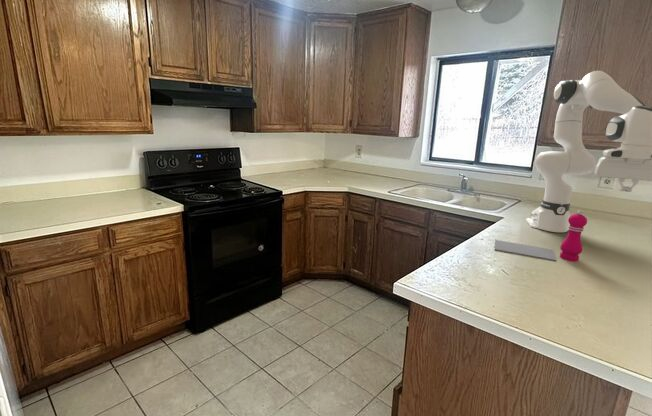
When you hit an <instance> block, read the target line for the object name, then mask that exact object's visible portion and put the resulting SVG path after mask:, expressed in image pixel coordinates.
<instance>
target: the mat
mask: <svg viewBox="0 0 652 416" xmlns="http://www.w3.org/2000/svg"><path fill="white" fill-rule="evenodd" d="M494 251H496V252H502V253H507V254H513V255H520V256H524V257H529V258H536V259H541V260H545V261H552V262H557V257H556V254H555V252H554V249H553V248H545V247H541V246H540V247H539V246H533V245H529V244H521V243H517V242H516V243H515V242H511V241H505V240H504V241H503V240H498V239H495V243H494Z"/></svg>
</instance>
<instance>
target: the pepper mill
mask: <svg viewBox="0 0 652 416" xmlns="http://www.w3.org/2000/svg"><path fill="white" fill-rule="evenodd" d="M568 222H569V227H568V229H569V230H568V234H567V236H566V237H565V239H564V240H562V242H561V244H560V247H559V248H560V251H561V252H560V254H559V258H561V259H562V260H564V261H569V262H573V263H575V262H578V261H579V260H580V254H582V253H583V245H582V240H581V235H582V232H584V227H586V225H587V223H588V219H587V217H586V216H585V215H583V212H582V210H577V211H576V213H574V214H570V217H569V219H568Z"/></svg>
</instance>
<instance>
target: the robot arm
mask: <svg viewBox="0 0 652 416" xmlns="http://www.w3.org/2000/svg"><path fill="white" fill-rule="evenodd" d="M552 95H553V96H552V97H553V100H554V102H555V103H557V104H559V106H558V109H557V112H556V117H555V122H554V133H553V140H554V141H555V142H556V143H557V144H559V145H561V146H562V148H563V150H564V151H559V150H558V151H557V150H550V151H541V152H539V153H538V154H537V156H536V157H535V160H534V167H535V169H536V171H537V172H539V173H540V174H541V176H542V177H543V179H544V183H545V187H544V188H545V189H544V196H543V198H542V199H541V201H540V206H538V207H537V208H536V209H534V210H533V211H532V212H530V214H529V216H530V217H526V218H525V222H527V224H528V225H529V226H530V227H531V228H534V229H540V230H543V231H546V232H553V233H566V232H569V229H568V227H569V225H570V224H569V222H568V219H569V217H570V216H571V213H569V211H570V208H571V203H570V202H571V197H572V193H573V187H572V186H571V185H570V184H569V183H568V182H566V181H564V180H563V175H566V176H567V175H569V176H570V175H571V176H583V175H589V174H590V173H592V172H593V171H594V175H595V176H596V177H599V178H600V177H601V178H611V179H612V178H613V179H617V182H618V184H619V188H618V189H619V191H620V192H627V193H632V190H633V188H634V187H635V186H636V185H638V184H639V181H645V182H652V105H651V106H650V105H646V104H645V103H643V102H642V100H641V99H639V98H638V97H637V96H635V95H633V94H631V93H629V92H628V91H626V90H625V89H623V88H622V87H621V86H620V85H619V84H618V83H616V81H615V80H614V79H613V77H611V76H610V74H608V73H606V72H605V71H603V70H593V71H590V72H588V73H587V74H586V75H585V76H584V77H583V78H582V79H567V80H561V81H560V82H559V83H558V84H557V85H556V86H555V87H554V89H553V94H552ZM587 107H588V108H589V109H594V110H597V111H603V112H612V113H616V114H617V113H618V114H621V115H616V116H614V117H612V118H611V119H610V120H608V121H607V123H606V125H605V129H604V134H605V137H606V138H607V140H609V141H610V142H611V141H612V142H616V143H620V147H614V148H608V149H604V150H603V152H602V155H603V156H601V157H600V158H599V159H598V161H596V159H595V156H594V155H593V154H591V153H590V152H589V151H588V150H587V148H585V147H586V146H585V145H584V143H583V120H584V112H585V110H586V108H587ZM625 180H631V184H629V186H627V185H624V182H625Z"/></svg>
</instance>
